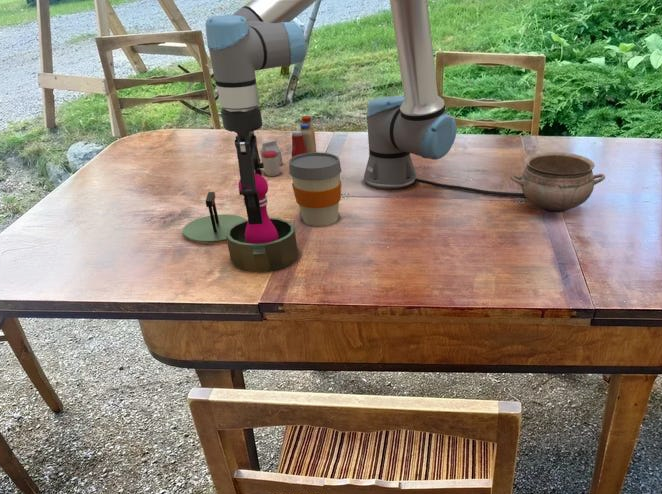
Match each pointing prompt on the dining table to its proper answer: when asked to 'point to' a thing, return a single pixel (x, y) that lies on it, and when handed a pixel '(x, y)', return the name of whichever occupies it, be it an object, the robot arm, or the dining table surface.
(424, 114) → the robot arm
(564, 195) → the cooking pot
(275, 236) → the pepper mill
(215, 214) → the lid
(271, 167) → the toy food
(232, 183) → the dining table surface
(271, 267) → the pot
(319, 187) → the reusable coffee cup
